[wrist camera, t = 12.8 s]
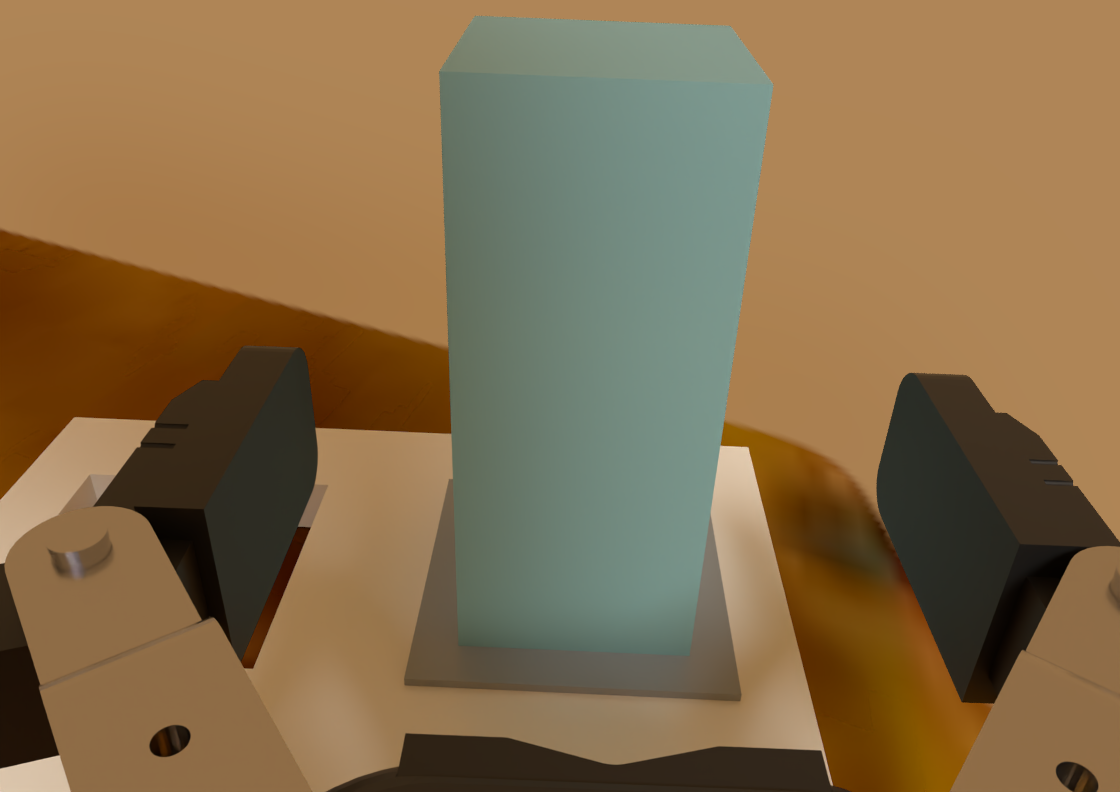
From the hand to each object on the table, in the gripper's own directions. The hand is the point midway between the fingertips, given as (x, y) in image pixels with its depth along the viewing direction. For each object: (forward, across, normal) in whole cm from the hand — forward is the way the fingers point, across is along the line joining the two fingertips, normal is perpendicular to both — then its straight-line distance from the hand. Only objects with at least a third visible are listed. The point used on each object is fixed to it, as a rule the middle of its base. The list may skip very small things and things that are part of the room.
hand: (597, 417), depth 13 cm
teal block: (+6, 0, +8) cm, 10 cm away
